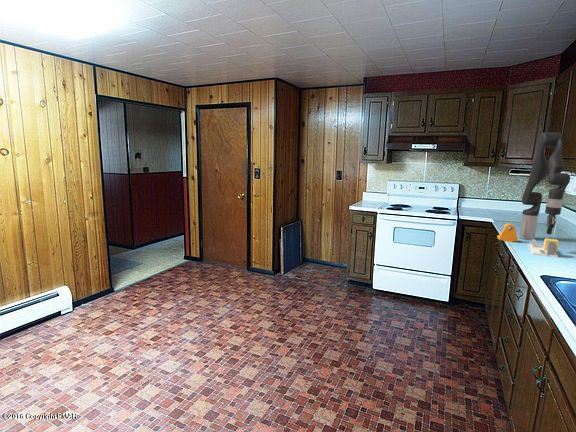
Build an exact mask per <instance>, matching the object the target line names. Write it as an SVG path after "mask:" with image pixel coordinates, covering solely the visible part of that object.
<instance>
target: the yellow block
mask: <svg viewBox="0 0 576 432" xmlns="http://www.w3.org/2000/svg"><path fill="white" fill-rule="evenodd" d="M549 242H556V245H555V251H554V252H555V253H556V252H558V250H559V249H558V248H559V240H558V239H556V238H555V239H554V238H544V242H543V245H542V246H543V249H544V250H547V245H549Z"/></svg>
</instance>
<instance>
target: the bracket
mask: <svg viewBox="0 0 576 432" xmlns="http://www.w3.org/2000/svg"><path fill="white" fill-rule="evenodd" d="M509 227H510V228H509ZM497 239H498V240H499V241H502V242H507V243H514V242H518V241H519V236H518V234H517V231H516V227H515V226H514V225H513V224H511V223H509V222H508V223H505V224H504V226H503V230H502V231H501V233H500V234H497Z"/></svg>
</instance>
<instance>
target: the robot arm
mask: <svg viewBox="0 0 576 432" xmlns="http://www.w3.org/2000/svg"><path fill="white" fill-rule="evenodd" d="M545 148H554V151H553V153H552V154H551V155H550V157H549V158H548V159H547V158H546V155H545ZM563 160H564V159H563V135H562V133H561V132H557V131H556V132H555V131H554V132H551V131H550V132H549V131H548V132H547V131H544V132H542V133H541V134H540V137H539V140H538V144H537V148H536V153H535V157H534V159H533V162H532V166H531V168H530V169H531V170H530V172H529V176H528V180H527V183H526V186H525V188H524V191H523V194H522V196H521V203H522V204H523V205H525V206H531V207H530V208H527V209H523V210H522V214H521V221H520V228H519V233H518V239H522V240H527V241H532V239H535V238H536V232H537V225H538V221H539V220H538V219H539V214H540V210H541V205H542V200H543V195H542V192H538V191H537V192H536V191H533V190H534V189H535V188H536V186H538V185H539V184H540V183H541V182H542V181H544V179H546V177H547V182H548V184H549V185H553V186H555V185H556V186H558V187H555V188H551V189H549V191H548V195H547V196H548V197H547V200H546V205H545V209H544V213H545V214H547V217H546V227H547V229H546V234H547V235H552V232H553V229H554V228H555V225H556V223H557V217H556V216H560V215H561V214H562V207H563V199H564V194H565V192H566V188H567V187H568V185H569V184H570V182H571V176H570V174H569V173H566V172H564V170H565V165H564V161H563ZM548 172H549V173H548ZM547 175H548V176H547ZM535 240H536V239H535Z"/></svg>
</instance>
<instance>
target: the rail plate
mask: <svg viewBox="0 0 576 432" xmlns="http://www.w3.org/2000/svg"><path fill="white" fill-rule="evenodd" d="M555 245H556V242H549V245H547V250H544V249H543V246H544V245H542V244H541V245H540V244H537V240H536V239H532V240H531V243H527V247H528V249H529V251H530V252H531V254H532V255H535V254H536V255H535V256H545V257H550V258H551V257H553V258H558V257H559V256H558V254H557V253H556V252H555Z"/></svg>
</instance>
